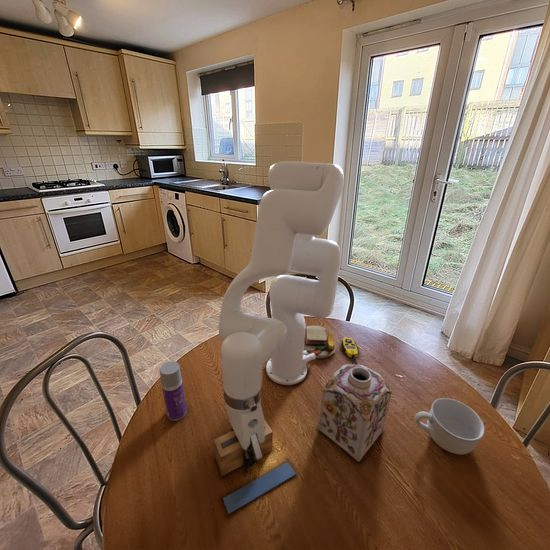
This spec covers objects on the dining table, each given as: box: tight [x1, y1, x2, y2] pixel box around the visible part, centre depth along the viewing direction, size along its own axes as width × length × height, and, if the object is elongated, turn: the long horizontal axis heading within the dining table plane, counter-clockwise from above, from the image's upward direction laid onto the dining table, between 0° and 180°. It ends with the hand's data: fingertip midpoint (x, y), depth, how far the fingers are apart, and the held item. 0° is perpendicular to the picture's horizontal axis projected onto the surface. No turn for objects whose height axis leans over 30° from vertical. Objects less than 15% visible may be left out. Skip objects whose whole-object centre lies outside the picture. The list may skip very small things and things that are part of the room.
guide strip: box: [222, 461, 297, 515], centre depth 59 cm, size 15×3×1 cm, turn 119°
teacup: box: [414, 397, 486, 455], centre depth 69 cm, size 14×11×8 cm
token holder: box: [213, 416, 274, 477], centre depth 64 cm, size 12×4×6 cm, turn 119°
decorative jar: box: [318, 363, 393, 462], centre depth 68 cm, size 12×12×18 cm
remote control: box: [341, 337, 359, 365], centre depth 97 cm, size 5×2×15 cm
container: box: [159, 360, 187, 421], centre depth 72 cm, size 5×5×15 cm
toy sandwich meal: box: [304, 325, 337, 359], centre depth 100 cm, size 12×14×5 cm
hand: (244, 450), depth 65 cm, fingers open, 5 cm apart
